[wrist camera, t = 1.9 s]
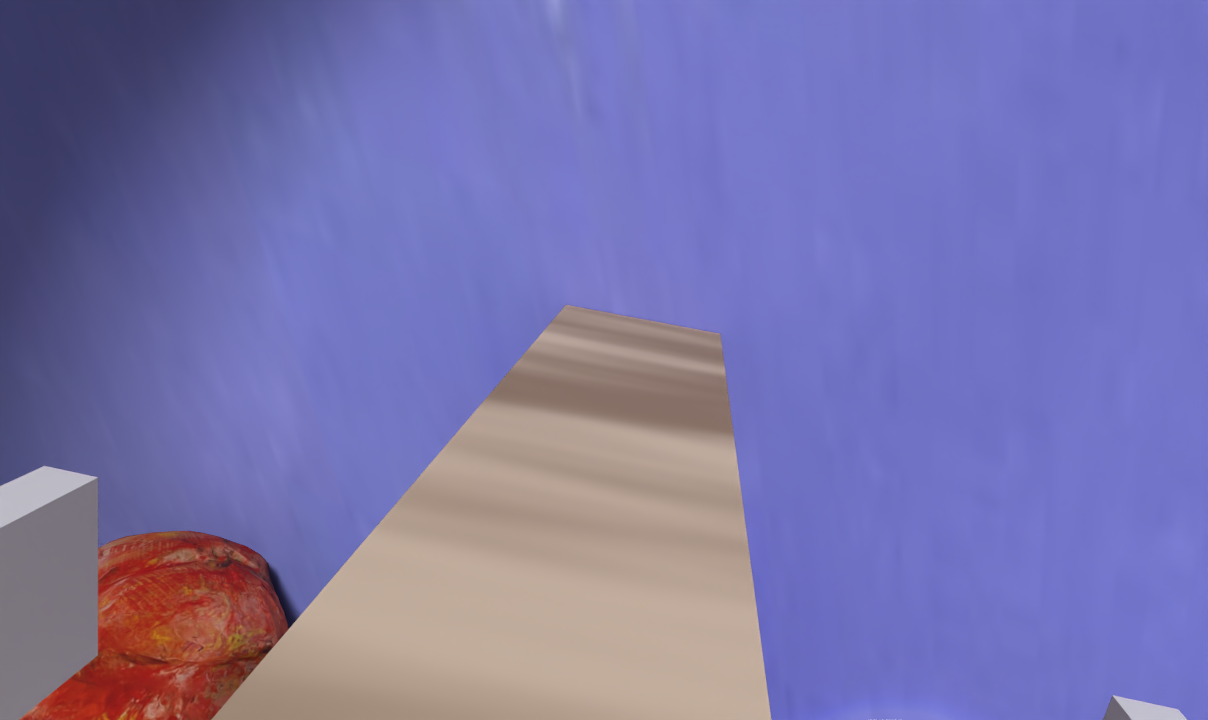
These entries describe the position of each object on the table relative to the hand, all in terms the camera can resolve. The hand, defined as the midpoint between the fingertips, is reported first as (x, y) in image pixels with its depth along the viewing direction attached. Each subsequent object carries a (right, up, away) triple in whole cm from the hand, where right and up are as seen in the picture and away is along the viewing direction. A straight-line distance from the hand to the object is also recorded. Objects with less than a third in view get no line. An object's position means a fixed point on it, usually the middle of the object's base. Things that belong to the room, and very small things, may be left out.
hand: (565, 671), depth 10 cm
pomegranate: (-11, -3, +14) cm, 18 cm away
